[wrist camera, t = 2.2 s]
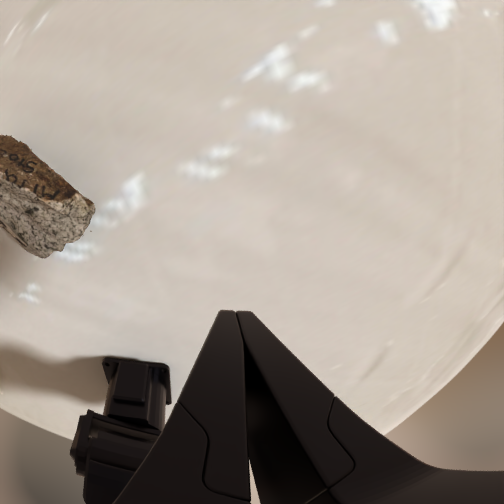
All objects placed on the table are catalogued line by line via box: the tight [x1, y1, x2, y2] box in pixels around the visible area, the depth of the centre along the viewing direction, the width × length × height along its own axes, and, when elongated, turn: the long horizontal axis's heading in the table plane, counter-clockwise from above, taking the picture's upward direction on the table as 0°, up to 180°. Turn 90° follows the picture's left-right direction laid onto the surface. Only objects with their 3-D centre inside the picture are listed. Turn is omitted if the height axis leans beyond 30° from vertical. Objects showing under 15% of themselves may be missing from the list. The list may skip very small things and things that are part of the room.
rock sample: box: [0, 135, 95, 258], centre depth 14 cm, size 10×8×9 cm
